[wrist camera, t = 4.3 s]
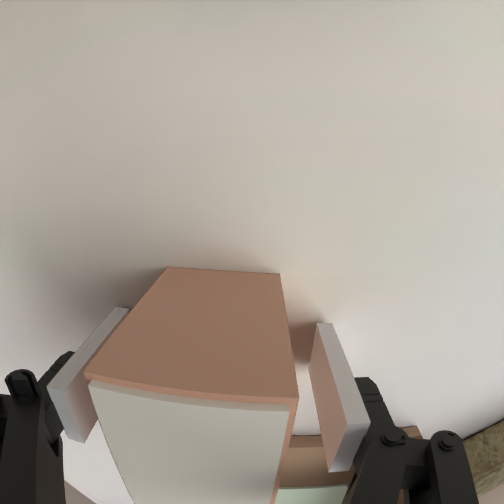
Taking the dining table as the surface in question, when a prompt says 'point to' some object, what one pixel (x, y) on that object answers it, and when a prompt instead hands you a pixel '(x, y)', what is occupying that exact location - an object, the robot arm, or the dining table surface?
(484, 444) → the stone block
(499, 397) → the dining table surface
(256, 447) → the terracotta block
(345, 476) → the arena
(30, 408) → the robot arm
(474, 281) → the dining table surface
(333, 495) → the sage pad
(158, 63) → the dining table surface
